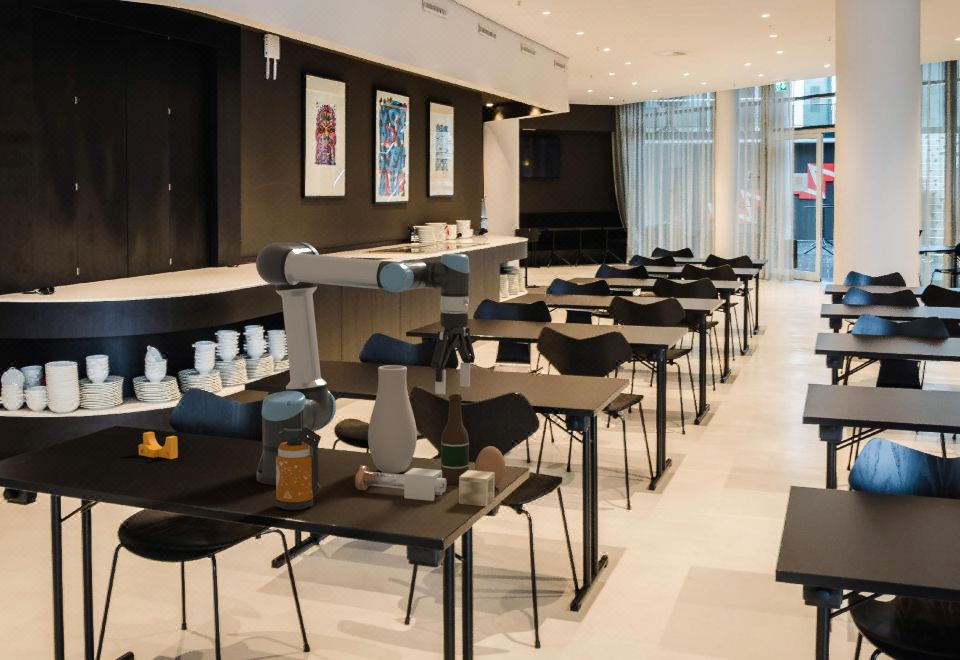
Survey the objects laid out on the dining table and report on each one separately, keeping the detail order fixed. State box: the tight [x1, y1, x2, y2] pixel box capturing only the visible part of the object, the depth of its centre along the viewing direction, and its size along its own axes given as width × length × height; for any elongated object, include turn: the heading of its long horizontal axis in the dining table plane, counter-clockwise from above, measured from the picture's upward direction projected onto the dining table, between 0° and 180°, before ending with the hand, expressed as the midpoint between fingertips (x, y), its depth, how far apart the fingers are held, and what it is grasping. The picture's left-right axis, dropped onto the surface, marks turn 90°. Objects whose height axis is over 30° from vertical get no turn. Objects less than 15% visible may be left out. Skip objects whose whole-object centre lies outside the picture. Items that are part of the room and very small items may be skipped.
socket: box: [458, 469, 495, 507], centre depth 265 cm, size 7×7×7 cm
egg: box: [474, 445, 507, 488], centre depth 279 cm, size 8×8×11 cm
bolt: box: [354, 465, 448, 493], centre depth 271 cm, size 24×6×6 cm, turn 73°
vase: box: [367, 364, 418, 474], centre depth 293 cm, size 14×14×30 cm
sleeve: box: [403, 467, 443, 502], centre depth 270 cm, size 8×7×6 cm
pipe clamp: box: [138, 431, 179, 460], centre depth 310 cm, size 12×4×6 cm, turn 58°
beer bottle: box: [440, 393, 470, 485], centre depth 284 cm, size 8×8×24 cm
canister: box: [275, 427, 322, 511], centre depth 258 cm, size 9×11×20 cm
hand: (452, 390), depth 280 cm, fingers open, 13 cm apart
